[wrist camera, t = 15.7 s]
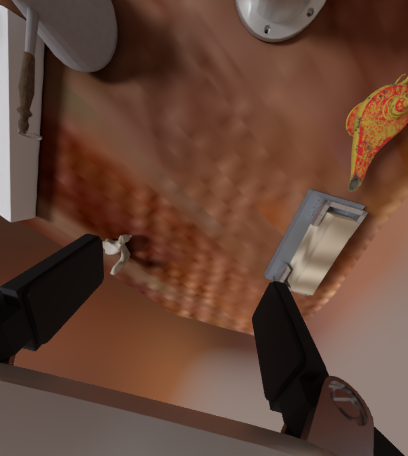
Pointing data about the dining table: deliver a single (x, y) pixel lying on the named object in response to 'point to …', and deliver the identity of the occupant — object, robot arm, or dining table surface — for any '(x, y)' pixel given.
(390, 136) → the magic lamp
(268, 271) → the slat tray
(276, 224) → the dining table surface
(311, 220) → the grey long frame
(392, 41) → the dining table surface
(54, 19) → the coffee pot
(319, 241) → the birch slat
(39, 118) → the decorative molding
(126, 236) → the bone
